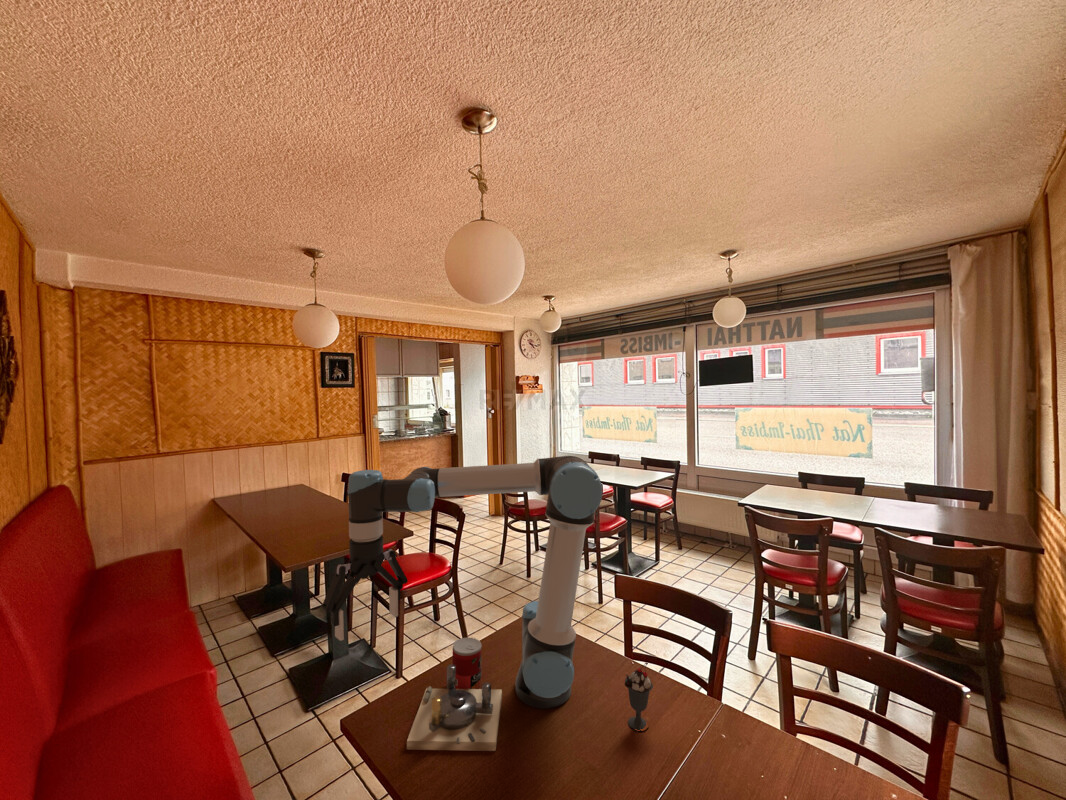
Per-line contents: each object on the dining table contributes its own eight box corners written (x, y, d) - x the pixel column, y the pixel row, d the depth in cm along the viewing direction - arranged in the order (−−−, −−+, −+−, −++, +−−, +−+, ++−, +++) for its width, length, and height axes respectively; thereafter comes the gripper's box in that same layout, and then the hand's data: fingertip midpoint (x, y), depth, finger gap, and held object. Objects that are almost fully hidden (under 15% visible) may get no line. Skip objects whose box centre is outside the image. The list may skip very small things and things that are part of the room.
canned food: (476, 696, 117) (476, 655, 117) (447, 691, 119) (448, 651, 118) (485, 677, 125) (485, 639, 124) (458, 673, 126) (458, 635, 126)
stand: (501, 697, 117) (501, 683, 117) (495, 753, 98) (495, 738, 98) (426, 695, 117) (426, 682, 117) (405, 752, 99) (405, 736, 99)
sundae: (657, 723, 108) (658, 663, 107) (643, 739, 103) (644, 676, 103) (633, 710, 112) (634, 652, 112) (619, 724, 107) (620, 663, 107)
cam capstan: (450, 688, 117) (450, 661, 116) (495, 713, 108) (495, 685, 107) (409, 718, 106) (409, 689, 105) (455, 750, 97) (455, 718, 96)
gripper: (404, 521, 116) (405, 601, 116) (304, 547, 97) (306, 642, 98) (420, 527, 111) (422, 610, 111) (318, 556, 92) (320, 656, 93)
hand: (367, 626), depth 105 cm, fingers open, 13 cm apart
